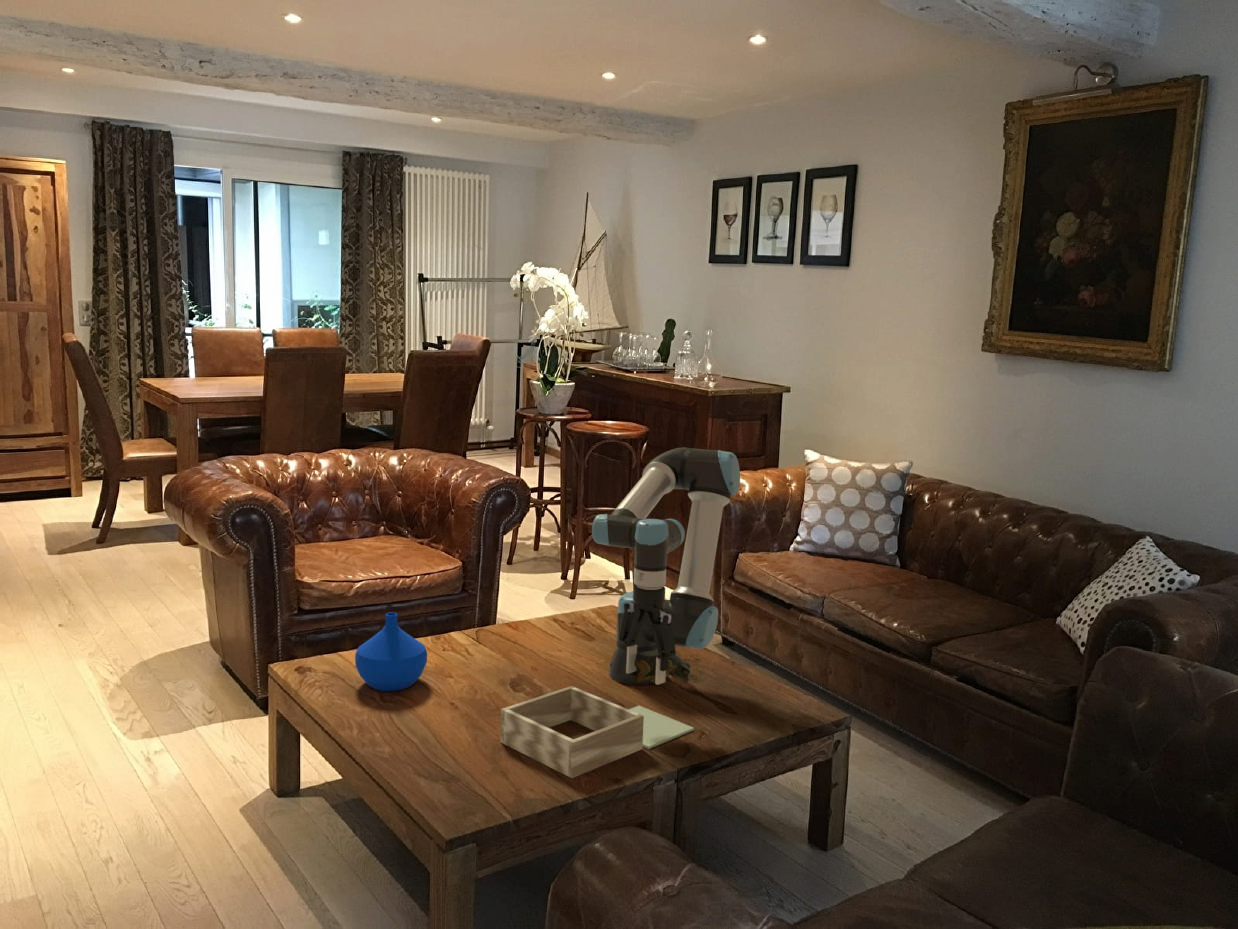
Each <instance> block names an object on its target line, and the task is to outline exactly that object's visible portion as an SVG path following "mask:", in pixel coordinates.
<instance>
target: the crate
mask: <svg viewBox="0 0 1238 929" xmlns="http://www.w3.org/2000/svg"><path fill="white" fill-rule="evenodd" d="M629 709H630V708H629ZM629 709H628V708H626V707H623V706H621V705H619V704H616V703H614V702H612V701H609V700H607V699H605V698H602V697H600V696H598V695H595V694H591V693H589V692H588V691H585V690H583V689H580V688H578V687H575V686H573V685H571V686H567V687H564V688H560V689H558V690H555V691H551V692H548V693H546V694H543V695H540V696H537V697H535V698H531V699H528V700H525V701H522V702H519V703H516V704H513V705H510V706H507V707H503V708H501V709H500V743H501V744H504V745H505V746H507V747H509V748H511V749H513V750H516V751H517V752H519V753H521V754H523V755H525V756H527V757H529V758H530V759H533V760H534V761H537V762H538V763H541V764H542V765H545V766H547V767H549V768H551V769H553V770H554V771H557V772H558V773H561V774H563V775H565V776H566V777H569V778H571V779H574V778H576V777H579V776H582V775H584V774H586V773H588V772H591V771H593V770H596V769H598V768H601V767H602V766H605V765H607V764H609V763H612V762H614V761H617V760H619V759H622V758H623V757H624V758H625V757H627V756H629V755H631V754H633V753H636V752H639V751H641V750H643V748H644V747H643V723H644V716H643V715H641V714H638V713H636V712H633V711H631V710H629ZM569 721H572V722H574V723H577V724H579V725H581V726H583V727H585V728H587V729H590V730H592V731H591V732H590V733H587V734H584V735H582V736H579V737H577V738H574V739H573V738H571V737H569V736H567V735H565V734H562V733H560V732H559V731H556V730H553V729H552V727H554V726H557V725H560V724H563V723H566V722H569Z"/></svg>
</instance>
